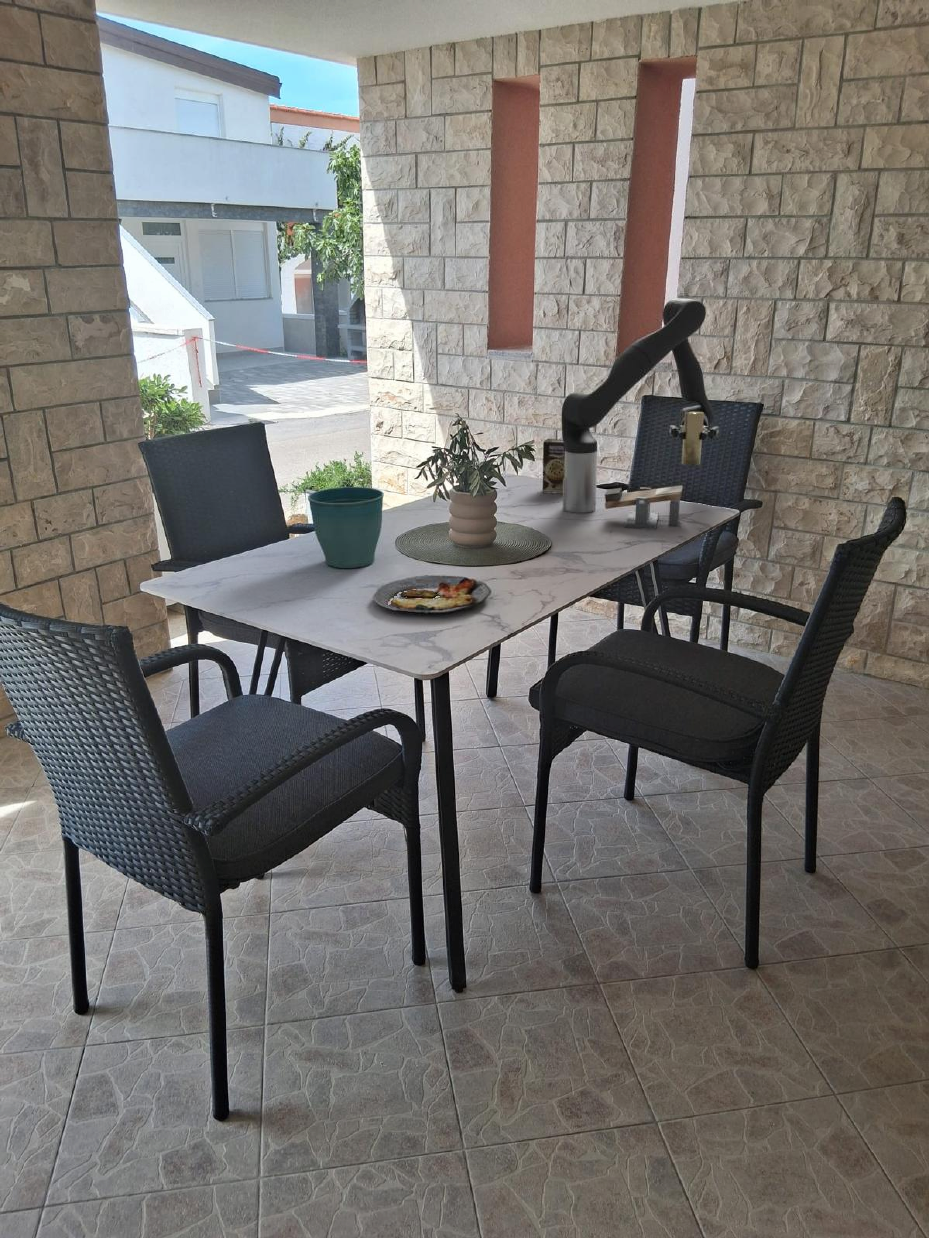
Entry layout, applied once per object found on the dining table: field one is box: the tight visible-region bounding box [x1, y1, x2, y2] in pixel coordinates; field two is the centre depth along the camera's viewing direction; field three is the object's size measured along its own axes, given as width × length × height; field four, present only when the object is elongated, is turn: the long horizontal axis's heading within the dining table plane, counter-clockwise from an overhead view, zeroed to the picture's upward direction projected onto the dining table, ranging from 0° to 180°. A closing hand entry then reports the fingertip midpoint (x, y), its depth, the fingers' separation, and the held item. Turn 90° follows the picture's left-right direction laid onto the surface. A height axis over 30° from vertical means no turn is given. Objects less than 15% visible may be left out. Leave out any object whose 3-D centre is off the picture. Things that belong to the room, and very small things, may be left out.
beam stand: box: [625, 487, 681, 530], centre depth 257 cm, size 14×14×8 cm
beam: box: [604, 485, 684, 510], centre depth 256 cm, size 20×10×4 cm, turn 75°
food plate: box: [372, 574, 492, 614], centre depth 202 cm, size 25×23×4 cm
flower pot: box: [307, 486, 384, 569], centre depth 227 cm, size 18×18×17 cm
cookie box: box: [542, 438, 565, 494], centre depth 293 cm, size 9×6×16 cm
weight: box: [681, 412, 704, 467], centre depth 257 cm, size 5×5×14 cm
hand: (692, 436), depth 255 cm, fingers closed on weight, 5 cm apart
